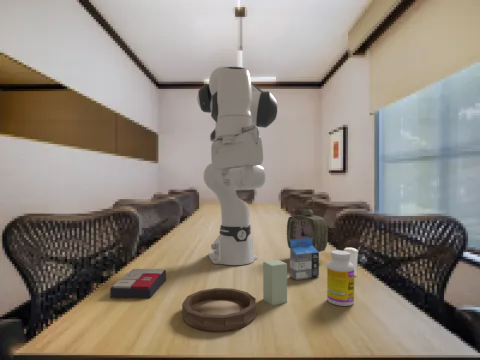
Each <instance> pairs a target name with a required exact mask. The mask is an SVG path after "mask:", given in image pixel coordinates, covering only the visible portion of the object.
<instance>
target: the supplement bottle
mask: <svg viewBox="0 0 480 360" xmlns="http://www.w3.org/2000/svg"><path fill="white" fill-rule="evenodd" d="M330 256H331V260H329V261H328V262H327V264H326V265H327V268H326V273H327V274H326V275H327V277H326V280H327V281H326V283H327V284H326V286H327V287H326V289H327V291H326V293H327V295H326V296H327V297H326V298H327V301H328V303H330V304H332V305H335V306H339V307H350V306H352V305H353V304H354V302H355V276H354V266H353V264H352V263H351V262H349V259H350V253H349V252H347V251H344V250H337V249H336V250H332V251H330Z"/></svg>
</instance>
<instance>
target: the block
mask: <svg viewBox="0 0 480 360" xmlns="http://www.w3.org/2000/svg"><path fill="white" fill-rule="evenodd" d="M262 262H263V263H262V265H263V267H262V272H263V273H262V275H263V276H262V279H263V280H262V281H263V282H262V291H263V292H262V297H263V300H264V301H265V302H266V303H268V304H270V305H271V306H276V305H281V304H284V303H285V304H286V303H288V263H286V262H284V261H282V260H279V259H272V260H270V259H269V260H265V261H262Z"/></svg>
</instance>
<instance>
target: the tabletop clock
mask: <svg viewBox="0 0 480 360" xmlns="http://www.w3.org/2000/svg"><path fill="white" fill-rule="evenodd" d="M304 200H309V201H311V202H312V205H311V206H309V204H306V205H303V204H302V202H303V201H304ZM299 204H300V206H301V207H302V208H304V209H302V210H301V212H300V215H291V216H289V217H288V219H287V223H286V241H287V246H288V248H289V249H290V240H292V239H306V238H312V245H313V247H314V248H315V249H316V250H317V251H318V252H319V253H320V252H324V251H326V248H327V244H328V235H329V234H328V232H329V231H328V223H327V220H326V219H325V218H324V217H322V216H319V215H314V211H313V210H312V208H314V206H315V201H314V199H313V198H311V197H303V198H301V200H300V203H299ZM298 244H305V242H302V241H301V242H299V243H298Z"/></svg>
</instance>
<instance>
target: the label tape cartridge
mask: <svg viewBox="0 0 480 360" xmlns="http://www.w3.org/2000/svg"><path fill="white" fill-rule="evenodd" d="M301 241H302V242H305V244H298V243H299V242H301ZM289 249H290V250H289V255H290V256H289V278H290V279H291V278H292V279H293V280H295V281H301V280H306V279H307V280H308V279H315V278H319V276H320V262H319V261H320V252H318V251H317V250H316V249H315V248H314V247H313V245H312V238H306V239H292V240H290V248H289Z"/></svg>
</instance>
